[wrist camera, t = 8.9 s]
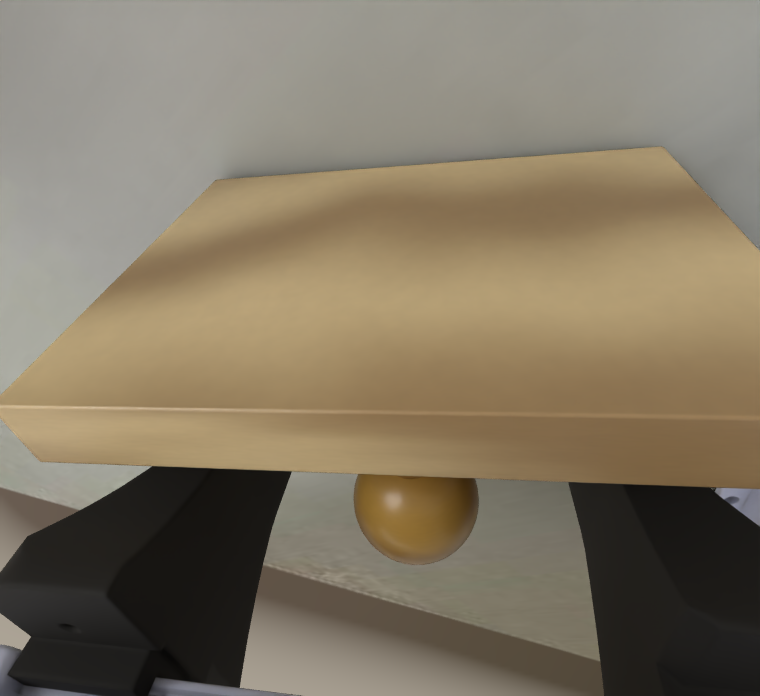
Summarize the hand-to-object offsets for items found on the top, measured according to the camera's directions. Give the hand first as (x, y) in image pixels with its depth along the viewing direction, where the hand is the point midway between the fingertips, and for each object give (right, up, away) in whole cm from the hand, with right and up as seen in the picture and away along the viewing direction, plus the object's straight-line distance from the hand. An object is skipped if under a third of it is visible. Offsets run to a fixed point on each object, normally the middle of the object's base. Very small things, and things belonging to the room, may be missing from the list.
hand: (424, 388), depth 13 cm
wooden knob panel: (-1, +3, -3) cm, 5 cm away
